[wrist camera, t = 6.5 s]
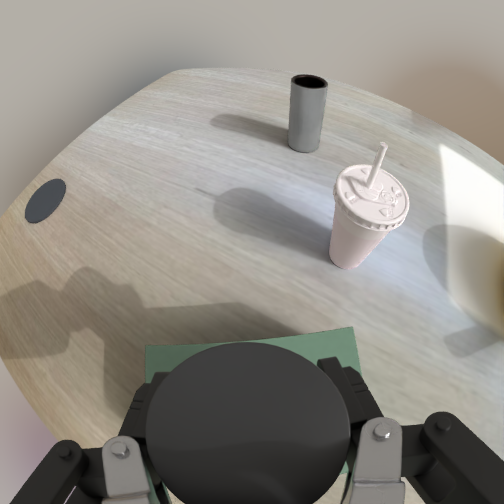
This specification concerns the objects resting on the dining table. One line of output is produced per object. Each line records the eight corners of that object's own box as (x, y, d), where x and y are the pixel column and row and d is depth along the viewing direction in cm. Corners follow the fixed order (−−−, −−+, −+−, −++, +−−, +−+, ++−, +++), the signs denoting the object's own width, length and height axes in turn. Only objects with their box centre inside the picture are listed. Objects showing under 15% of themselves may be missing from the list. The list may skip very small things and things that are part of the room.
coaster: (22, 231, 32) (20, 229, 31) (31, 192, 36) (29, 191, 36) (62, 210, 33) (61, 208, 33) (68, 172, 37) (67, 171, 37)
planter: (284, 135, 38) (287, 74, 29) (313, 133, 38) (321, 74, 30) (291, 153, 36) (296, 88, 27) (322, 152, 36) (333, 88, 27)
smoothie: (333, 219, 30) (364, 112, 18) (382, 247, 28) (437, 150, 16) (304, 259, 28) (330, 149, 16) (358, 293, 26) (423, 199, 14)
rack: (182, 464, 18) (153, 483, 12) (174, 360, 23) (144, 345, 17) (343, 450, 18) (372, 465, 12) (329, 346, 23) (353, 326, 17)
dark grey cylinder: (227, 468, 13) (186, 537, 4) (197, 389, 15) (122, 371, 7) (315, 438, 14) (377, 478, 5) (282, 360, 16) (304, 312, 8)
